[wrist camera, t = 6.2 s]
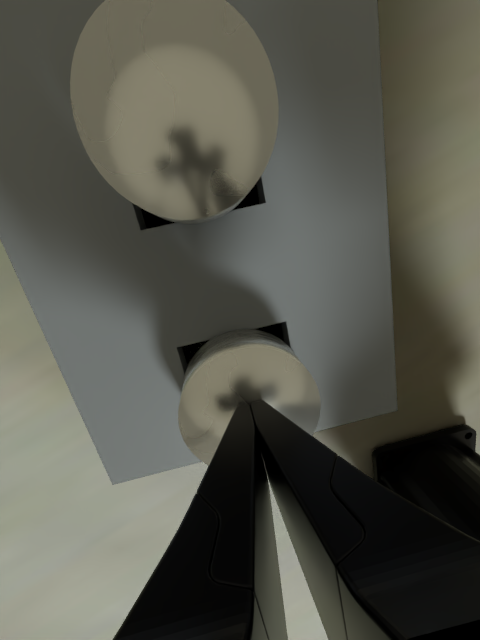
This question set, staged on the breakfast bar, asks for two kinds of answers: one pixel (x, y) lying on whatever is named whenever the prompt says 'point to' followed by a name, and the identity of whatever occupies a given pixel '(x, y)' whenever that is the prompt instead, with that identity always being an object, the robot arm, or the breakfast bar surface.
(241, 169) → the knob middle
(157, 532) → the breakfast bar surface
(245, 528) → the robot arm
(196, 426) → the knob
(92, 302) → the mount
